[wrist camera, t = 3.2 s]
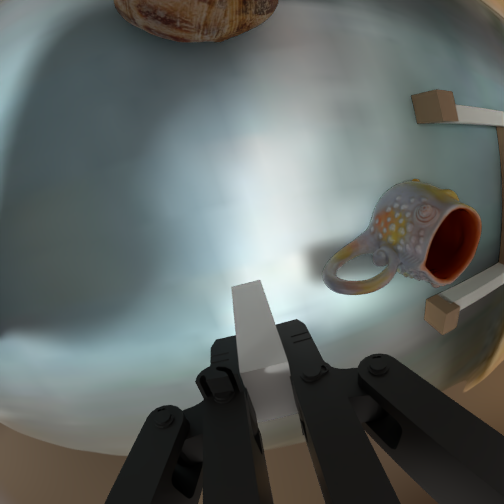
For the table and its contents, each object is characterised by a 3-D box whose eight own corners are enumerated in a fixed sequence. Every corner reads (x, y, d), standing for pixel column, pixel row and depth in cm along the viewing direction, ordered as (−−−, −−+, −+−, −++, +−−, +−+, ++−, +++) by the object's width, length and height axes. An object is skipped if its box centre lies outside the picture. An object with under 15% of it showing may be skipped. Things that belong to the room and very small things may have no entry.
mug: (423, 170, 19) (483, 178, 13) (434, 245, 21) (485, 270, 15) (293, 214, 19) (330, 239, 12) (317, 298, 21) (353, 348, 15)
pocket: (424, 319, 23) (442, 335, 20) (410, 95, 17) (436, 89, 14) (503, 275, 24) (519, 284, 21) (499, 106, 17) (519, 106, 14)
